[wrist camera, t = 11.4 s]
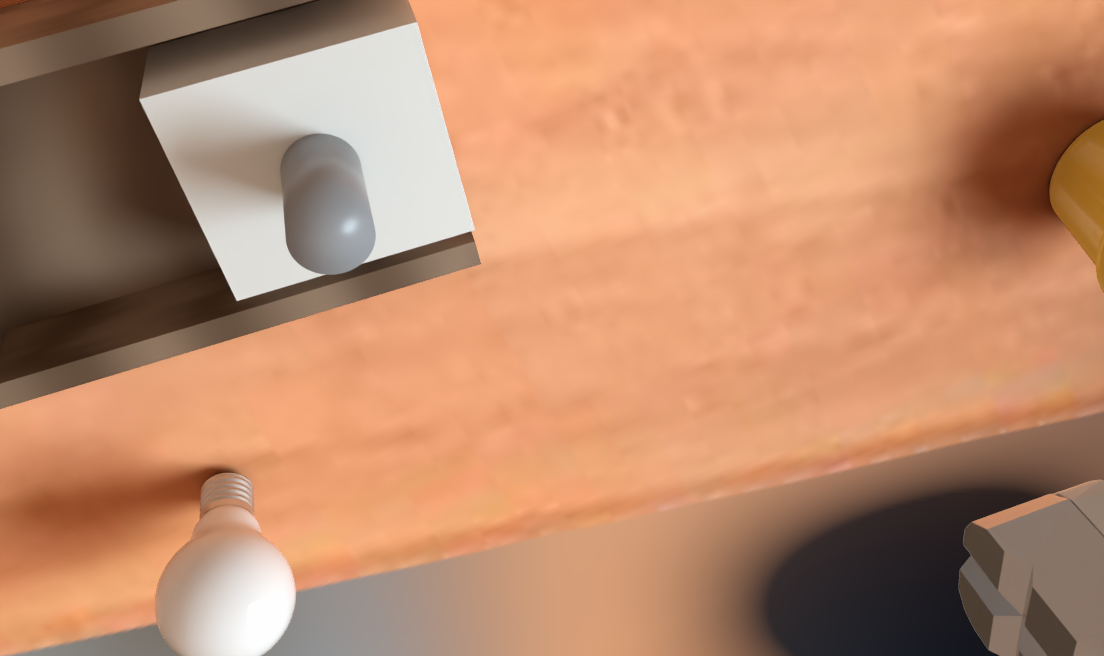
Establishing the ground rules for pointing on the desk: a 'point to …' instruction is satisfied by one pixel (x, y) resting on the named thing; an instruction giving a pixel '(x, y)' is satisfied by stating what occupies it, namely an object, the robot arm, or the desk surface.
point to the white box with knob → (307, 140)
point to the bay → (125, 206)
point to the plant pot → (1083, 193)
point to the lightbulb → (225, 580)
